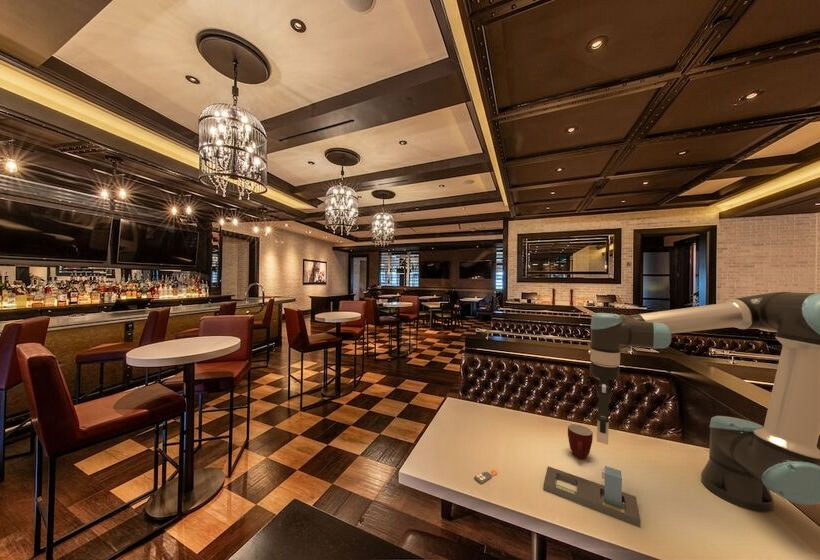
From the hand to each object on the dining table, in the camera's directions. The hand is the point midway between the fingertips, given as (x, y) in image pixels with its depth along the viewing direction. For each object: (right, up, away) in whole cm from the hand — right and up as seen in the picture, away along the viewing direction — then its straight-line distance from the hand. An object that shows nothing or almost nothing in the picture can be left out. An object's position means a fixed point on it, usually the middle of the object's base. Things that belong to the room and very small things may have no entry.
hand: (602, 432), depth 87 cm
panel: (-4, -20, 0) cm, 20 cm away
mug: (+4, -20, +19) cm, 28 cm away
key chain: (-32, -20, +9) cm, 39 cm away
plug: (+1, -20, -3) cm, 20 cm away
